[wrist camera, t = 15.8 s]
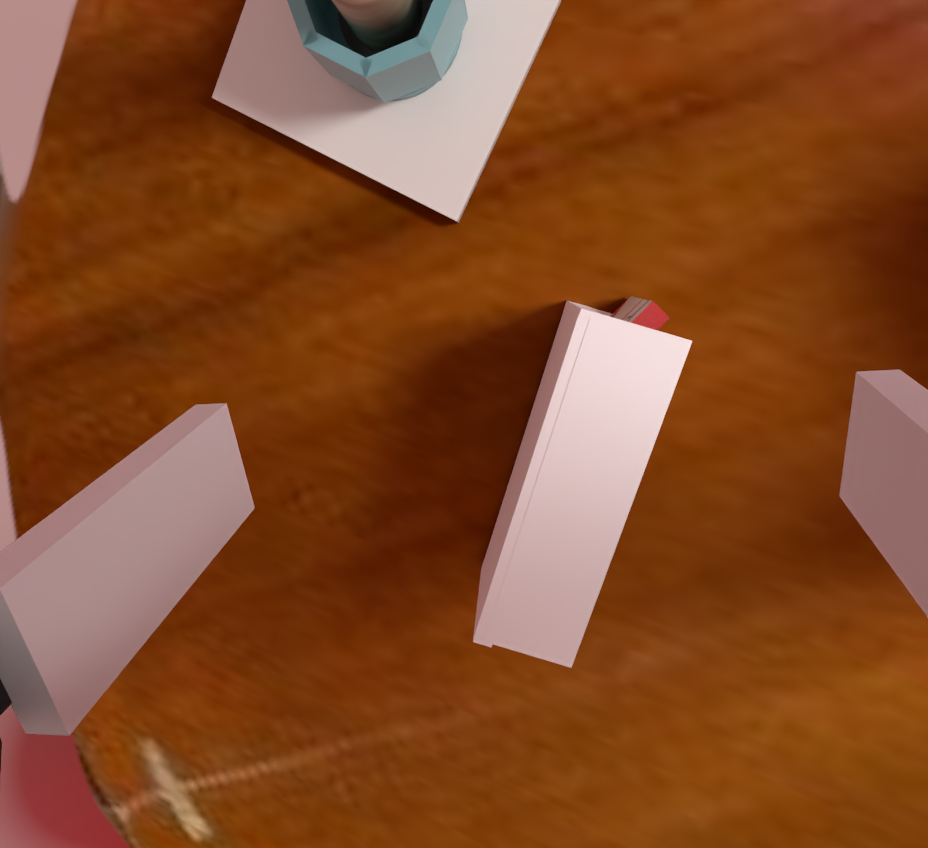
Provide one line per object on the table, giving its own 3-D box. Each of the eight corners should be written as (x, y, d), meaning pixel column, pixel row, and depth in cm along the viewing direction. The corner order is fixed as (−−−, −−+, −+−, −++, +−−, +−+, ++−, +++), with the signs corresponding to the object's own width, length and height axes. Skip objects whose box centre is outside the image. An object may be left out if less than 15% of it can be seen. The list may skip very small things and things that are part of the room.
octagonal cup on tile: (584, -51, 36) (601, -125, 30) (458, 222, 40) (446, 212, 33) (322, -188, 36) (277, -296, 29) (219, 101, 40) (157, 66, 33)
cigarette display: (559, 590, 45) (570, 671, 36) (481, 567, 45) (472, 641, 36) (659, 305, 40) (702, 314, 31) (572, 279, 41) (589, 281, 31)
